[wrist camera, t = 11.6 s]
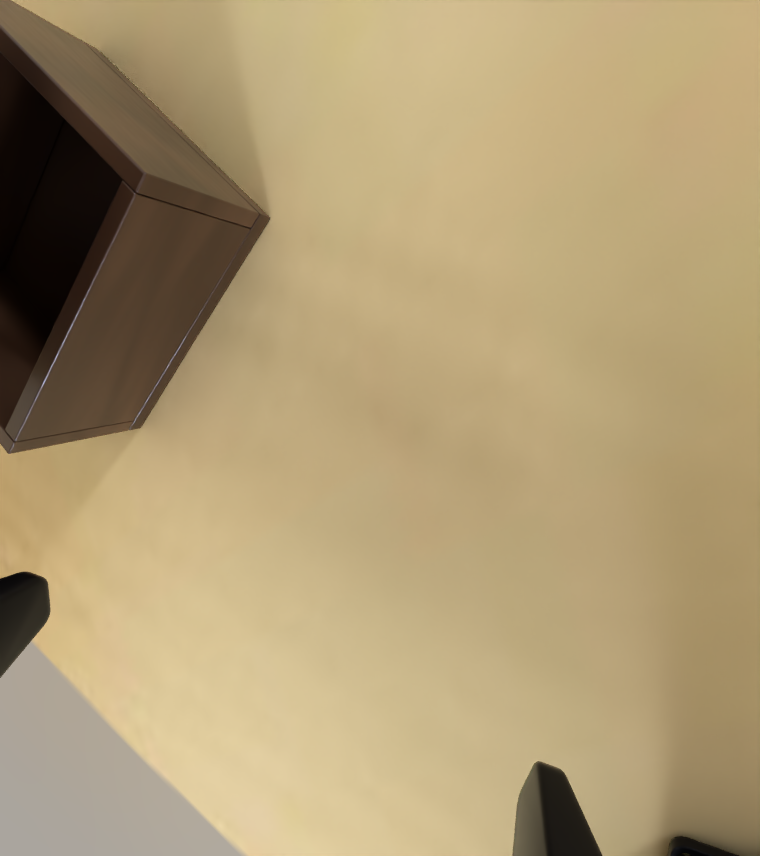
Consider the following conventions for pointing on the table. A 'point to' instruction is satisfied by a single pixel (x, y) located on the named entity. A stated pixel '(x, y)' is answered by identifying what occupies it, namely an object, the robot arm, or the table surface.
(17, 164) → the box
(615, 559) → the table surface
